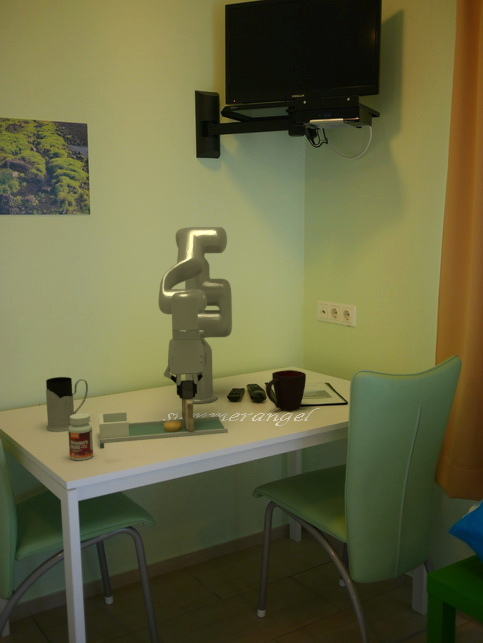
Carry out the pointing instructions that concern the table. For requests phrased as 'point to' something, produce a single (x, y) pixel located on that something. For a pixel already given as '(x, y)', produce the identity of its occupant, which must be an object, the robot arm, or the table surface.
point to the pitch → (151, 428)
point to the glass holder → (60, 403)
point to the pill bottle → (80, 437)
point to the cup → (287, 389)
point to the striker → (187, 404)
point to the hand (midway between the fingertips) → (187, 396)
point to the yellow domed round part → (172, 426)
